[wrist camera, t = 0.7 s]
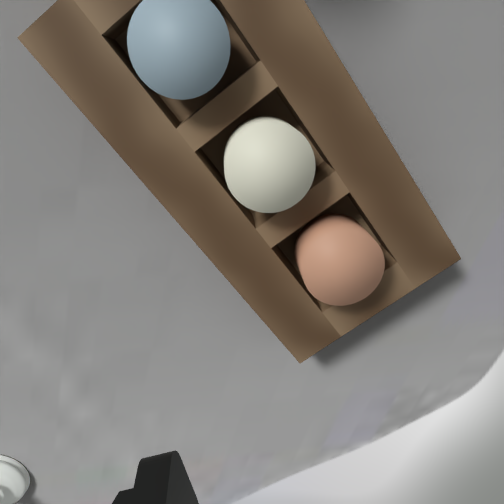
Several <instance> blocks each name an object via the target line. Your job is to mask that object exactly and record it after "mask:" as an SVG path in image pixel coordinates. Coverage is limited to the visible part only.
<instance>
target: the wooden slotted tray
mask: <svg viewBox="0 0 504 504" xmlns="http://www.w3.org/2000/svg"><path fill="white" fill-rule="evenodd" d="M142 1H143V0H58V1H56V2H55V3H54V4H53V5H52V6H51V7H50V8H49V9H48V10H47V11H46V12H45V13H44V14H42V15H41V16H40V17H39V18H38V19H37V20H36V21H35V22H34V23H33V24H32V25H31V26H30V27H28V28H27V29H26V30H25V31H24V32H23V33H22V34H21V35H20V36H19V37H18V39H19V40H20V41H21V43H22V44H23V45H24V46H25V47H26V48H27V49H28V51H29V52H30V53H31V54H32V55H33V56H34V58H35V59H36V60H37V61H38V62H39V63H40V64H41V66H42V67H43V68H44V69H45V70H46V71H47V72H48V74H49V75H50V76H51V77H52V78H53V79H54V81H55V82H56V83H57V84H58V85H59V86H60V87H61V89H62V90H63V91H64V92H65V93H66V94H67V96H68V97H69V98H70V99H71V100H72V101H73V102H74V104H75V105H76V106H77V107H78V108H79V109H80V111H81V112H82V113H83V114H84V115H85V116H86V117H87V119H88V120H89V121H90V122H91V123H92V124H93V126H94V127H95V128H96V129H97V130H98V131H99V132H100V134H101V135H102V136H103V137H104V138H105V139H106V140H107V142H108V143H109V144H110V145H111V146H112V147H113V149H114V150H115V151H116V152H117V153H118V154H119V155H120V157H121V158H122V159H123V160H124V161H125V162H126V164H127V165H128V166H129V167H130V168H131V169H132V170H133V172H134V173H135V174H136V175H137V176H138V177H139V179H140V180H141V181H142V182H143V183H144V184H145V185H146V187H147V188H148V189H149V190H150V191H151V192H152V194H153V195H154V196H155V197H156V198H157V199H158V200H159V202H160V203H161V204H162V205H163V206H164V207H165V209H166V210H167V211H168V212H169V213H170V214H171V215H172V217H173V218H174V219H175V220H176V221H177V222H178V223H179V225H180V226H181V227H182V228H183V229H184V230H185V232H186V233H187V234H188V235H189V236H190V237H191V238H192V240H193V241H194V242H195V243H196V244H197V245H198V247H199V248H200V249H201V250H202V251H203V252H204V253H205V255H206V256H207V257H208V258H209V259H210V260H211V262H212V263H213V264H214V265H215V266H216V267H217V268H218V270H219V271H220V272H221V273H222V274H223V275H224V277H225V278H226V279H227V280H228V281H229V282H230V283H231V285H232V286H233V287H234V288H235V289H236V290H237V292H238V293H239V294H240V295H241V296H242V297H243V298H244V300H245V301H246V302H247V303H248V304H249V305H250V306H251V308H252V309H253V310H254V311H255V312H256V313H257V315H258V316H259V317H260V318H261V319H262V320H263V321H264V323H265V324H266V325H267V326H268V327H269V328H270V330H271V331H272V332H273V333H274V334H275V335H276V336H277V338H278V339H279V340H280V341H281V342H282V343H283V345H284V346H285V347H286V348H287V349H288V350H289V351H290V353H291V354H292V355H293V356H294V357H295V358H296V360H297V361H298V362H299V363H301V362H303V361H304V360H306V359H308V358H309V357H311V356H312V355H314V354H315V353H317V352H318V351H320V350H321V349H323V348H324V347H326V346H328V345H329V344H331V343H332V342H334V341H335V340H337V339H338V338H340V337H341V336H343V335H344V334H346V333H348V332H349V331H351V330H352V329H354V328H355V327H357V326H358V325H360V324H361V323H363V322H364V321H366V320H368V319H369V318H371V317H372V316H374V315H375V314H377V313H378V312H380V311H381V310H383V309H384V308H386V307H388V306H389V305H391V304H392V303H394V302H395V301H397V300H398V299H400V298H401V297H403V296H405V295H406V294H408V293H409V292H411V291H412V290H414V289H415V288H417V287H418V286H420V285H421V284H423V283H425V282H426V281H428V280H429V279H431V278H432V277H434V276H435V275H437V274H438V273H440V272H441V271H443V270H445V269H446V268H448V267H449V266H451V265H452V264H454V263H455V262H457V261H458V260H460V259H461V258H460V256H459V254H458V253H457V251H456V249H455V248H454V246H453V244H452V243H451V241H450V239H449V238H448V236H447V235H446V233H445V231H444V230H443V228H442V226H441V225H440V223H439V221H438V220H437V218H436V216H435V215H434V213H433V211H432V210H431V208H430V207H429V205H428V203H427V202H426V200H425V198H424V197H423V195H422V193H421V192H420V190H419V188H418V187H417V185H416V184H415V182H414V180H413V179H412V177H411V175H410V174H409V172H408V170H407V169H406V167H405V165H404V164H403V162H402V161H401V159H400V157H399V156H398V154H397V152H396V151H395V149H394V147H393V146H392V144H391V142H390V141H389V139H388V138H387V136H386V134H385V133H384V131H383V129H382V128H381V126H380V124H379V123H378V121H377V119H376V118H375V116H374V115H373V113H372V111H371V110H370V108H369V106H368V105H367V103H366V101H365V100H364V98H363V96H362V95H361V93H360V92H359V90H358V88H357V87H356V85H355V83H354V82H353V80H352V78H351V77H350V75H349V73H348V72H347V70H346V69H345V67H344V65H343V64H342V62H341V60H340V59H339V57H338V55H337V54H336V52H335V50H334V49H333V47H332V46H331V44H330V42H329V41H328V39H327V37H326V36H325V34H324V32H323V31H322V29H321V27H320V26H319V24H318V23H317V21H316V19H315V18H314V16H313V14H312V13H311V11H310V9H309V8H308V6H307V4H306V3H305V1H304V0H210V1H211V2H212V3H213V4H214V5H215V6H216V8H217V9H218V10H219V11H220V13H221V15H222V16H223V18H224V20H225V23H226V25H227V28H228V31H229V37H230V57H229V62H228V65H227V68H226V70H225V73H224V75H223V76H222V78H221V79H220V81H219V82H218V83H217V84H216V85H215V86H214V87H213V88H212V89H211V90H210V91H208V92H207V93H205V94H203V95H201V96H199V97H196V98H192V99H185V100H179V99H172V98H168V97H165V96H162V95H160V94H158V93H156V92H155V91H153V90H152V89H151V88H149V87H148V86H147V85H146V84H145V83H144V82H143V81H142V80H141V79H140V77H139V76H138V74H137V73H136V71H135V69H134V67H133V65H132V63H131V60H130V57H129V53H128V47H127V33H128V27H129V23H130V20H131V17H132V15H133V13H134V11H135V9H136V8H137V7H138V5H139V4H140V3H141V2H142ZM259 116H272V117H277V118H279V119H282V120H284V121H286V122H287V123H289V124H290V125H291V126H293V127H294V128H295V129H297V130H298V131H299V132H300V133H302V134H303V135H304V137H305V138H306V139H307V140H308V142H309V144H310V145H311V147H312V150H313V153H314V156H315V176H314V179H313V182H312V185H311V187H310V189H309V191H308V192H307V193H306V195H305V196H304V197H303V198H302V199H301V200H300V201H299V202H298V203H297V204H295V205H294V206H292V207H291V208H288V209H286V210H284V211H281V212H276V213H262V212H257V211H254V210H251V209H249V208H247V207H245V206H244V205H242V204H241V203H240V202H239V201H237V199H236V198H235V197H234V196H233V195H232V193H231V192H230V190H229V188H228V186H227V183H226V179H225V174H224V150H225V146H226V143H227V141H228V139H229V137H230V135H231V134H232V132H233V131H234V130H235V129H236V128H237V127H238V126H239V125H240V124H242V123H243V122H245V121H247V120H249V119H251V118H254V117H259ZM333 213H336V214H344V215H347V216H349V217H351V218H353V219H355V220H356V221H357V222H359V223H360V224H361V225H362V227H363V228H364V229H365V230H366V231H367V232H368V233H369V234H370V235H371V236H372V237H373V238H374V240H375V241H376V242H377V243H378V244H379V246H380V247H381V249H382V252H383V254H384V259H385V269H384V274H383V276H382V279H381V281H380V283H379V284H378V286H377V287H376V289H375V290H374V291H373V292H372V293H371V294H370V295H369V296H367V297H366V298H364V299H363V300H361V301H359V302H356V303H354V304H350V305H345V306H334V305H329V304H326V303H323V302H321V301H319V300H318V299H316V298H315V297H314V296H313V295H312V294H311V293H310V292H309V291H308V289H307V287H306V285H305V283H304V280H303V278H302V275H301V273H300V270H299V268H298V265H297V263H296V260H295V255H294V249H295V243H296V240H297V237H298V235H299V233H300V232H301V230H302V229H303V228H304V227H305V226H306V225H307V224H308V223H309V222H310V221H312V220H313V219H315V218H317V217H319V216H322V215H326V214H333Z"/></svg>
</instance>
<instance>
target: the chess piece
mask: <svg viewBox="0 0 504 504" xmlns="http://www.w3.org/2000/svg"><path fill="white" fill-rule="evenodd" d="M29 485H30V476H29V473H28V471H27V470H26V468H25V467H24V466H23V465H22V464H21V463H19V462H18V461H16V460H14V459H12V458H10V457H7V456H3V455H0V504H13V503H15V502H17V501H19V500H20V499H21V498H22V497H23V495H24V494H25V492H26V491H27V489H28V488H29Z"/></svg>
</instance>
